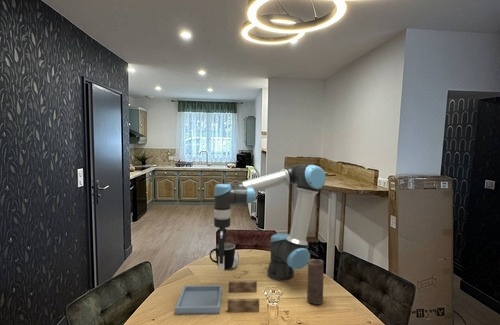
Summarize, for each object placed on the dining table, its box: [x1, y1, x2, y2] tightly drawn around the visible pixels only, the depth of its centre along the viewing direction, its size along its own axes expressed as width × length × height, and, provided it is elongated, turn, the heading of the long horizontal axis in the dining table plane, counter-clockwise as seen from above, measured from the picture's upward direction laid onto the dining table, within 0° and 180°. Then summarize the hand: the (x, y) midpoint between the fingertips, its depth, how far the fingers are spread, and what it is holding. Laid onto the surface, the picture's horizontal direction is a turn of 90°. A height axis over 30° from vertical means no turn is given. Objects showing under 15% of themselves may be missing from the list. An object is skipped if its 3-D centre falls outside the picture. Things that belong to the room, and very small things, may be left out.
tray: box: [175, 284, 223, 316], centre depth 128 cm, size 19×19×3 cm
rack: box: [227, 280, 260, 313], centre depth 129 cm, size 14×18×5 cm
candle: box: [306, 258, 325, 305], centre depth 128 cm, size 8×7×20 cm
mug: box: [209, 242, 236, 271], centre depth 127 cm, size 12×9×10 cm
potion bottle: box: [231, 251, 240, 269], centre depth 167 cm, size 9×10×15 cm
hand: (221, 265), depth 127 cm, fingers closed on mug, 9 cm apart
